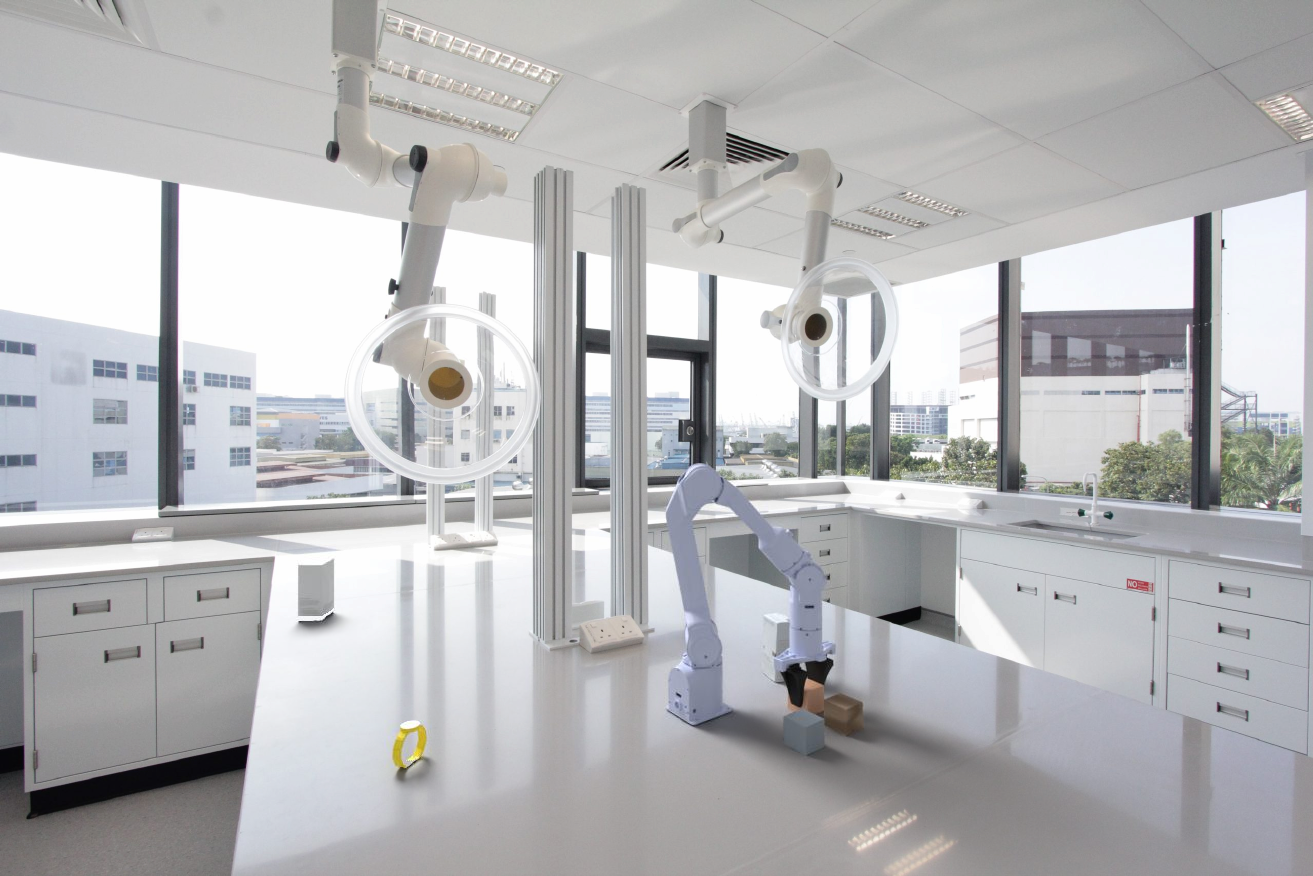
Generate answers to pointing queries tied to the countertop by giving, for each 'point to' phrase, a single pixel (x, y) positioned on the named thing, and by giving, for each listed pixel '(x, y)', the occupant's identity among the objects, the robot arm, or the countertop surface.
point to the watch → (404, 731)
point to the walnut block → (843, 714)
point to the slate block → (804, 731)
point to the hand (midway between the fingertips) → (805, 701)
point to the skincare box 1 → (316, 587)
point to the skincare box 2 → (774, 643)
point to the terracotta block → (811, 698)
